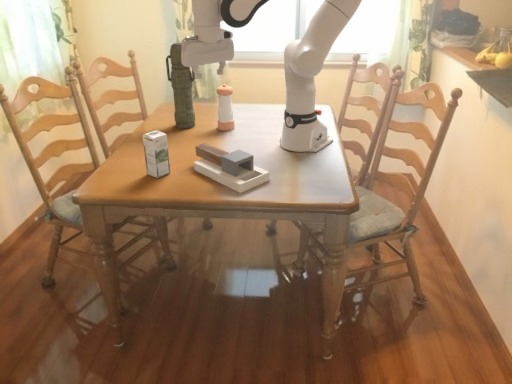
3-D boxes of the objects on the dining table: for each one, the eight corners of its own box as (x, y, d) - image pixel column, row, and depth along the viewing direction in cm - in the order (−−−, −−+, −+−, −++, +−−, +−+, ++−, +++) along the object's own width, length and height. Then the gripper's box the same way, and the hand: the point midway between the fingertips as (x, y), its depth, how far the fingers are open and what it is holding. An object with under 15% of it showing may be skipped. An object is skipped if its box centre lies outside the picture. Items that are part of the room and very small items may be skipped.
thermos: (197, 129, 186) (191, 45, 170) (170, 129, 186) (162, 45, 169) (200, 122, 194) (194, 42, 177) (174, 122, 194) (166, 42, 177)
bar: (205, 151, 155) (205, 142, 153) (232, 163, 145) (232, 154, 143) (196, 155, 152) (195, 146, 150) (222, 167, 142) (222, 158, 141)
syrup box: (160, 168, 149) (155, 129, 142) (171, 173, 146) (166, 133, 139) (146, 174, 145) (141, 134, 138) (158, 179, 142) (152, 138, 135)
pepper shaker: (233, 130, 184) (232, 86, 175) (217, 130, 184) (214, 86, 175) (235, 125, 190) (233, 82, 181) (218, 125, 190) (216, 82, 181)
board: (223, 159, 156) (222, 138, 152) (269, 180, 140) (269, 157, 137) (194, 170, 148) (192, 148, 144) (240, 193, 133) (239, 169, 129)
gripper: (186, 38, 132) (190, 83, 138) (236, 32, 144) (237, 73, 151) (175, 36, 136) (179, 80, 142) (224, 30, 148) (225, 71, 155)
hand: (209, 76), depth 146 cm, fingers open, 8 cm apart
